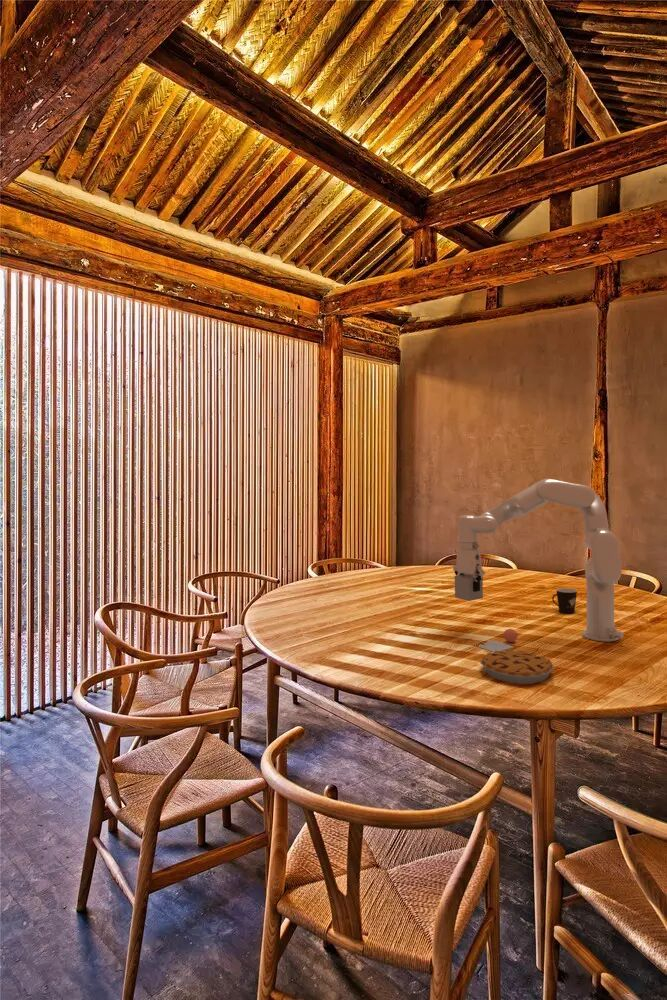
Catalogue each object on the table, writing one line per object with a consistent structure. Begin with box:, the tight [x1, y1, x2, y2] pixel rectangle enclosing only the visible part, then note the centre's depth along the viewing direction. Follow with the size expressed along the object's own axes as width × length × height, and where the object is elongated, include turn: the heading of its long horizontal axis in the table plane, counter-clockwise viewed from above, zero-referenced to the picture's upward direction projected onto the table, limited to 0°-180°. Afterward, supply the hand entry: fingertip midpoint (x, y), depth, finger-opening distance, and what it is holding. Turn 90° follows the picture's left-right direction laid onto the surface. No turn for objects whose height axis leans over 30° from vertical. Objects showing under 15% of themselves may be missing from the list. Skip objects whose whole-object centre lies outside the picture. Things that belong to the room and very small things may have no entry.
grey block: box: [454, 574, 484, 602], centre depth 216 cm, size 8×8×9 cm
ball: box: [503, 628, 518, 643], centre depth 204 cm, size 5×5×5 cm
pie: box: [480, 649, 554, 685], centre depth 173 cm, size 22×22×5 cm
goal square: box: [474, 639, 515, 653], centre depth 200 cm, size 10×10×1 cm
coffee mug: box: [551, 587, 578, 615], centre depth 244 cm, size 12×9×10 cm
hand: (468, 589), depth 216 cm, fingers closed on grey block, 7 cm apart
